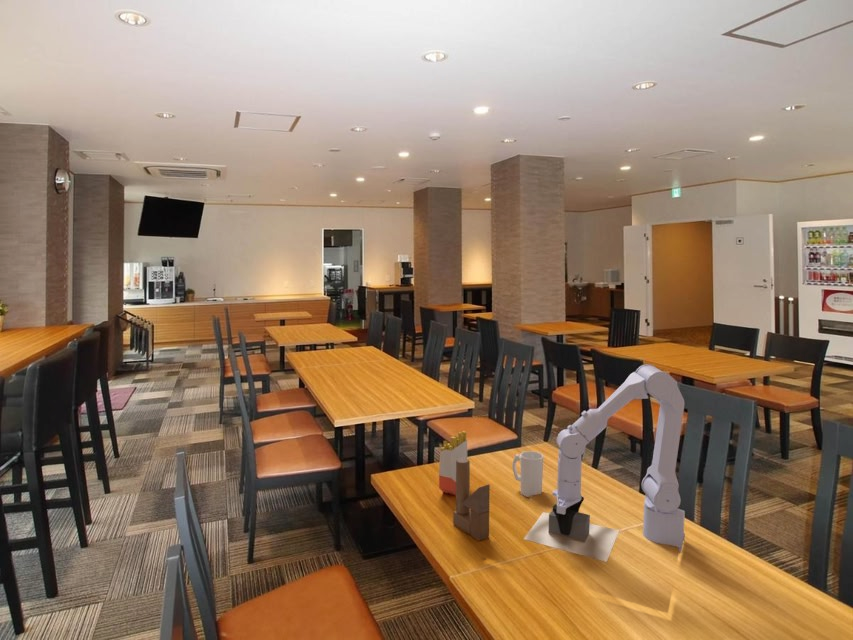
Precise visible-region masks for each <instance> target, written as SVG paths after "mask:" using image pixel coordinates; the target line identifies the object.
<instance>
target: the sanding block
mask: <svg viewBox="0 0 853 640" xmlns="http://www.w3.org/2000/svg"><path fill="white" fill-rule="evenodd" d="M590 519H591V515H590V514H587V513H583V512H580V511H579V512H576V514H575V515H574V518H573V521H572V525H571V531H570V534H569V536H567V535H564V534H561V533H560V529H559V525H558V521H557V518H556V515H555V514H554V512H553V509H552V510H551V511H550V513H549V532H548V533H549V534H553V535H556V536H560V537H564V538H568V539H571V540H575V541H579V542H583V543H585V541H586V539H587V537H588V535H589V526H590V524H591V523H590Z"/></svg>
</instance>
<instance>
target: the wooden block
mask: <svg viewBox="0 0 853 640" xmlns="http://www.w3.org/2000/svg"><path fill="white" fill-rule="evenodd" d="M470 466H471V462H470V460H469V459H468V458H467V459H465V458H460V459H457V460H456V495H455V510H454V511H452V519H453V520H452V521H453V522H452V524H453V525H455V526H456V527H457V528H459V529H461V531H464V532H465V533H466V534H467V535H469V536H471V537H472V538H473V539H475V540H476V541H478V542H479V541H482V540H485V539H487V538H490V493H491V492H490V490H491V489H490V486H491V485H490V484H489V483H488V484H485V485H482V486H479V487H478V488H477V489H475V490H474V491H473V492H472V493H471V492H470V491H471V490H470V487H471V485H470V484H471V482H470V481H471V479H470V475H471V471H470V469H471V467H470ZM470 493H471V494H470Z"/></svg>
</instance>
